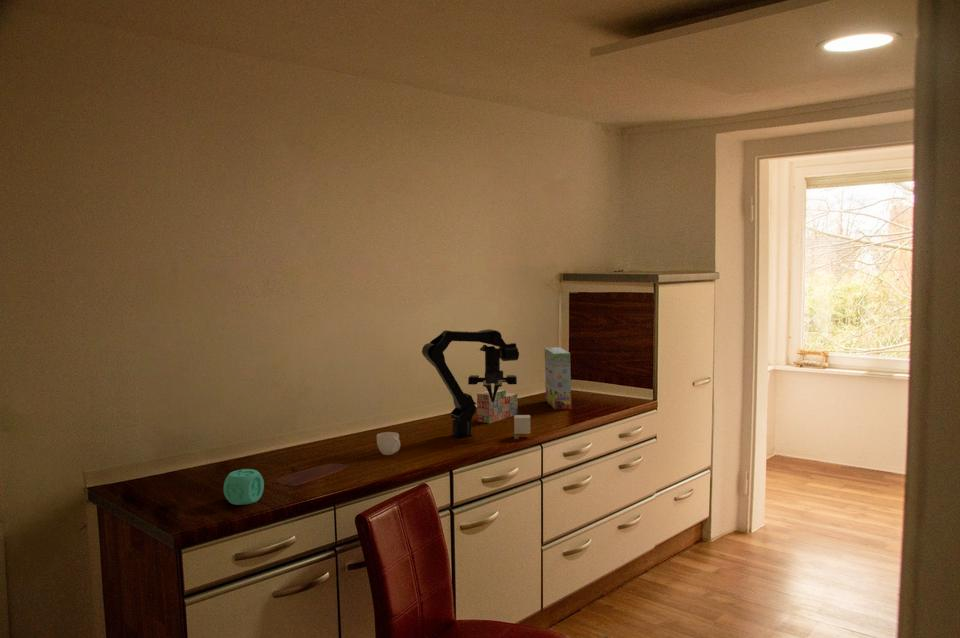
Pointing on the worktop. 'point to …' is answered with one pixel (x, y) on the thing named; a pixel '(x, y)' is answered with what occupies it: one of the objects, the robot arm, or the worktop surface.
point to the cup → (388, 442)
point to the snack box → (558, 378)
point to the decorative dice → (243, 486)
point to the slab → (521, 424)
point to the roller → (516, 436)
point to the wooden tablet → (310, 475)
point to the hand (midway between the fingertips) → (492, 401)
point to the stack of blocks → (496, 406)
